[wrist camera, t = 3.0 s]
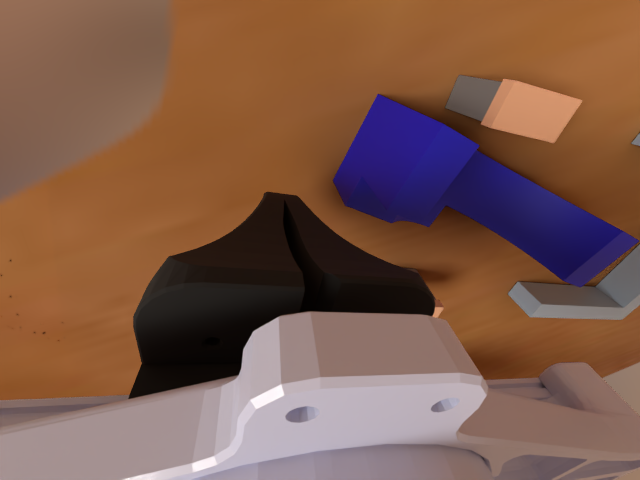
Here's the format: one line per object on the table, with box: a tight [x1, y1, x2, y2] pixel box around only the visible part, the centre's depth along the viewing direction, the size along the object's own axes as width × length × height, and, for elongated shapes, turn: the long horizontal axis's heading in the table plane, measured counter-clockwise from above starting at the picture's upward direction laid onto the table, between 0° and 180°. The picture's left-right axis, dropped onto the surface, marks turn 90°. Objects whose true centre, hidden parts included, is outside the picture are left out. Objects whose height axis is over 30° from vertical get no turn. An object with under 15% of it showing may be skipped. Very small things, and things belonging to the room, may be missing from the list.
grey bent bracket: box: [508, 133, 640, 320], centre depth 19 cm, size 14×10×2 cm
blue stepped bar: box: [333, 94, 639, 288], centre depth 14 cm, size 12×4×6 cm, turn 64°
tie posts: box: [405, 75, 583, 318], centre depth 15 cm, size 13×3×4 cm, turn 167°
